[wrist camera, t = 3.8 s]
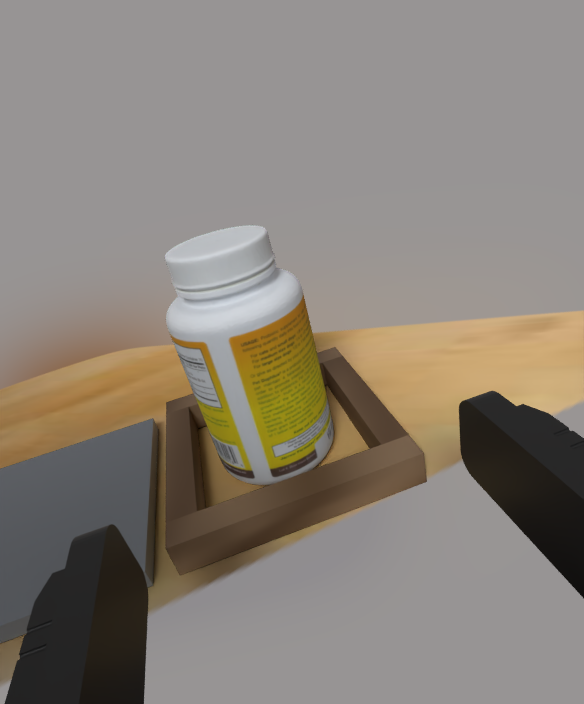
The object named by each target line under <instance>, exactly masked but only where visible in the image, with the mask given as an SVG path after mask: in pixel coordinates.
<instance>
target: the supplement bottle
mask: <svg viewBox="0 0 584 704" xmlns="http://www.w3.org/2000/svg"><path fill="white" fill-rule="evenodd" d="M274 258H275V255H274V253H273V251H272V248H271V244H270V241H269V236H268V232H267V230H266V229H265V228H264V227H261V226H254V225H253V226H252V225H251V226H238V227H232V228H227V229H222V230H218V231H214V232H210V233H207V234H204V235H200V236H198V237H195V238H192V239H190V240H187V241H185V242H183V243H181V244H179V245H177V246H175V247H174V248H172V249H171V250H169V251H168V252H167V253H166V256H165V261H166V263H167V267H168V269H169V272H170V275H171V278H172V284H173V286H174V287H175V290H176V293H177V295H178V297H177V298H176V299H175V300H174V301H173V302H172V304H171V305H170V307H169V309H168V311H167V315H166V322H167V327H168V329H169V333H170V335H171V338H172V340H173V343H174V345H175V348H176V350H177V353H178V355H179V358H180V360H181V363H182V365H183V368H184V370H185V373H186V375H187V378H188V380H189V383H190V385H191V388H192V390H193V393H194V395H195V398H196V400H197V402H198V405H199V408H200V410H201V412H202V415H203V417H204V420H205V422H206V425H207V427H208V430H209V432H210V435H211V437H212V440H213V442H214V445H215V447H216V450H217V452H218V455H219V457H220V459H221V461H222V464H223V465H224V467H225V469H226V470H227V471H228V472H229V473H230V474H231V475H232V476H234V477H235V478H237V479H238V480H241V481H243V482H246V483H249V484H254V485H272V484H274V483H277V482H280V481H283V480H285V479H288V478H291V477H294V476H296V475H299V474H302V473H305V472H307V471H310V470H312V469H313V468H315V467H316V466H317V465H318V464H319V463H320V462H321V461H322V460H323V459H324V457H325V456H326V455H327V453H328V451H329V449H330V447H331V445H332V441H333V436H334V429H333V422H332V418H331V413H330V409H329V404H328V400H327V396H326V391H325V387H324V382H323V378H322V374H321V369H320V365H319V360H318V356H317V351H316V347H315V343H314V338H313V334H312V330H311V326H310V321H309V317H308V313H307V308H306V304H305V299H304V295H303V291H302V287H301V284H300V282H299V280H298V279H297V277H296V276H295V275H293V274H292V273H291V272H289V271H287V270H284V269H280V268H276V263H275V260H274Z"/></svg>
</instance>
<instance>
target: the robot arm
mask: <svg viewBox="0 0 584 704" xmlns="http://www.w3.org/2000/svg"><path fill="white" fill-rule="evenodd" d="M459 421H460V445H461V455H462V459H463V461H464V464H465V466H466V468H467V470H468V471H469V473H470V474H471V476H472V477H473V478H474V479H475V480H476V481H477V482H478V484H480V486H481V487H482V488H483V489H484V490H485V491H486V492H487V493H488V494H489V495H490V497H491V498H492V499H493V500H494V501H495V502H496V503H497V504H498V505H499V506H500V508H502V510H503V511H504V512H505V513H506V514H507V515H508V516H509V517H510V518H511V519H512V521H513V522H514V523H515V524H516V525H517V526H518V527H519V528H520V529H521V530H522V532H523V533H524V534H525V535H526V536H527V537H528V538H529V539H530V540H531V541H532V542H533V543H534V544H535V546H536V547H537V548H538V549H539V550H540V551H541V552H542V553H543V554H544V555H545V557H546V558H547V559H548V560H549V561H550V562H551V563H552V564H553V565H554V566H555V567H556V569H557V570H558V571H559V572H560V573H561V574H562V575H563V576H564V577H565V578H566V579H567V580H568V582H569V583H570V584H571V585H572V586H573V587H574V588H575V589H576V590H577V591H578V592H579V593H580V595H581V596H582V597H583V598H584V438H582V437H581V436H580V435H578V434H577V433H575V432H574V431H570V430H569V428H568V427H567V426H565V425H564V424H563V423H561V422H560V421H558V420H557V419H556V418H554V417H553V416H551V415H550V414H548V413H546V412H543V411H540V410H538V409H535V408H532V407H530V406H527V405H524V404H522V405H519V406H515V405H514V404H512V403H511V402H510V401H508V400H507V399H506V398H504V397H503V396H502V395H500V394H499V393H497V392H495V391H490V392H487V393H484V394H481V395H478V396H476V397H473V398H470V399H467V400H464V401H462V402H461V403H460V405H459ZM147 616H148V589H147V583H146V579H145V575H144V573H143V570H142V568H141V566H140V565H139V563H138V561H137V560H136V558H135V556H134V555H133V553H132V551H131V550H130V548H129V546H128V545H127V543H126V541H125V540H124V538H123V536H122V535H121V533H120V531H119V530H118V528H117V527H116V526H115V525H113V524H111V525H108V526H105V527H102V528H99V529H96V530H94V531H91V532H88V533H85V534H82V535H79V536H77V537H75V538H74V539H73V540H72V542H71V545H70V549H69V553H68V558H67V562H66V566H65V569H62V570H60V571H57V572H54V573H52V574H51V576H50V578H49V579H48V581H47V582H46V584H45V585H44V587H43V589H42V590H41V592H40V593H39V595H38V597H37V598H36V600H35V602H34V605H33V608H32V612H31V615H30V619H29V622H28V626H27V629H26V630H27V635H25V636H24V639H23V643H22V646H21V650H20V653H19V655H20V660H18V661H17V663H16V667H15V670H14V674H13V677H12V680H11V684H10V687H9V691H8V694H7V698H6V701H5V704H144V685H145V661H146V639H147Z"/></svg>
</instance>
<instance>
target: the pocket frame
mask: <svg viewBox="0 0 584 704" xmlns="http://www.w3.org/2000/svg"><path fill="white" fill-rule="evenodd" d="M317 356H318V360H319V365H320V369H321V374H322V378H323V382H324V386H325V385H328V387H329V388H330V390H331V391H332V393H333V394H334V396H335V397H336V399H337V400H338V402H339V403H340V405H341V406H342V408H343V409H344V411H345V412H346V414H347V415H348V417H349V418H350V420H351V421H352V423H353V424H354V426H355V427H356V429H357V430H358V432H359V433H360V435H361V436H362V438H363V439H364V441H365V442H366V444H367V445H368V447H369V448H370V449H368V450H365V451H363V452H360V453H357V454H354V455H352V456H349V457H346V458H343V459H341V460H338V461H335V462H332V463H330V464H327V465H324V466H321V467H319V468H316V469H313V470H310V471H307V472H305V473H302V474H299V475H296V476H294V477H291V478H288V479H285V480H283V481H280V482H277V483H274V484H272V485H269V486H266V487H263V488H261V489H258V490H255V491H252V492H250V493H247V494H244V495H241V496H238V497H236V498H233V499H230V500H227V501H225V502H222V503H219V504H216V505H214V506H211V507H208V508H206V505H205V495H204V486H203V476H202V467H201V457H200V448H199V438H198V428H201V427H204V426H207V425H206V422H205V420H204V417H203V415H202V412H201V410H200V408H199V405H198V402H197V400H196V398H195V395H194V394H191V395H188V396H185V397H181V398H178V399H175V400H172V401H169V402H166V550H167V552H168V554H169V556H170V558H171V560H172V562H173V563H174V565H175V567H176V569H177V571H178V573H179V574H180V575H182V574H185V573H187V572H190V571H193V570H195V569H198V568H200V567H203V566H206V565H208V564H211V563H214V562H216V561H219V560H222V559H224V558H227V557H229V556H232V555H235V554H237V553H240V552H243V551H245V550H248V549H251V548H253V547H256V546H258V545H261V544H264V543H266V542H269V541H272V540H274V539H277V538H280V537H282V536H285V535H287V534H290V533H293V532H295V531H298V530H301V529H303V528H306V527H309V526H311V525H314V524H316V523H319V522H322V521H324V520H327V519H330V518H332V517H335V516H337V515H340V514H343V513H345V512H348V511H351V510H353V509H356V508H359V507H361V506H364V505H366V504H369V503H372V502H374V501H377V500H380V499H382V498H385V497H388V496H390V495H393V494H395V493H398V492H401V491H403V490H406V489H409V488H411V487H414V486H417V485H419V484H422V483H424V482H427V479H426V469H425V459H424V453H423V451H422V450H421V449H420V448H419V447H418V446H417V444H416V443H415V442H414V441H413V440H412V438H411V437H410V436H409V435H408V434H407V432H406V431H405V430H404V429H403V428H402V426H401V425H400V424H399V423H398V422H397V420H396V419H395V418H394V417H393V416H392V414H391V413H390V412H389V411H388V410H387V408H386V407H385V406H384V405H383V404H382V403H381V401H380V400H379V399H378V398H377V397H376V395H375V394H374V393H373V392H372V391H371V389H370V388H369V387H368V386H367V385H366V383H365V382H364V381H363V380H362V379H361V377H360V376H359V375H358V374H357V373H356V371H355V370H354V369H353V368H352V367H351V366H350V364H349V363H348V362H347V361H346V360H345V358H344V357H343V356H342V355H341V354H340V352H339V351H338V350H337V349H336V348H335V347H334V348H331V349H328V350H325V351H322V352H319V353H317Z"/></svg>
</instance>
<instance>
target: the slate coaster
mask: <svg viewBox="0 0 584 704" xmlns="http://www.w3.org/2000/svg"><path fill="white" fill-rule="evenodd" d="M157 457H158V427H157V425H156V423H155V421H154V419H150V420H147V421H144V422H141V423H138V424H134V425H131V426H128V427H125V428H122V429H119V430H116V431H113V432H110V433H107V434H104V435H101V436H98V437H95V438H92V439H89V440H86V441H83V442H80V443H77V444H74V445H71V446H68V447H65V448H62V449H59V450H56V451H53V452H50V453H47V454H44V455H41V456H38V457H35V458H32V459H29V460H26V461H23V462H20V463H16V464H13V465H10V466H7V467H4V468H1V469H0V643H3V642H5V641H8V640H11V639H13V638H16V637H19V636H21V635H24V634H26V633H27V630H26V629H27V626H28V622H29V619H30V615H31V612H32V608H33V605H34V602H35V600H36V598H37V597H38V595H39V593H40V592H41V590H42V589H43V587H44V585H45V584H46V582H47V581H48V579H49V578H50V576H51V574H52V573H54V572H57V571H60V570H62V569H65V566H66V562H67V558H68V553H69V549H70V545H71V542H72V540H73V539H74V538H75V537H77V536H79V535H82V534H85V533H88V532H91V531H94V530H96V529H99V528H102V527H105V526H108V525H111V524H113V525H115V526H116V527H117V528H118V530H119V531H120V533H121V535H122V536H123V538H124V540H125V541H126V543H127V545H128V546H129V548H130V550H131V551H132V553H133V555H134V556H135V558H136V560H137V561H138V563H139V565H140V566H141V568H142V570H143V573H144V575H145V579H146V583H147V588H148V587H150V586H153V575H154V545H155V516H156V487H157Z"/></svg>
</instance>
